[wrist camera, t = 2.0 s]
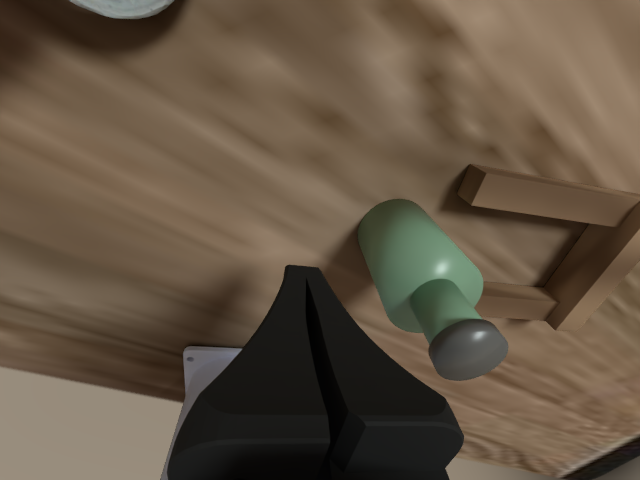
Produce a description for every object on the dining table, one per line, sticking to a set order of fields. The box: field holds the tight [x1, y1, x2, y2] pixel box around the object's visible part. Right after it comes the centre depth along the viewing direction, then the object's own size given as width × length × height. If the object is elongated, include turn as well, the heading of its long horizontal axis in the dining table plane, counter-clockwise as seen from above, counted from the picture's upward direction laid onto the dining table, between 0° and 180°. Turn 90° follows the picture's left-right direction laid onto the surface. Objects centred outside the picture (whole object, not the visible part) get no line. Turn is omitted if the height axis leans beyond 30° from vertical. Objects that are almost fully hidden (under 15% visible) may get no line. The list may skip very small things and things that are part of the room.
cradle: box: [457, 164, 640, 332], centre depth 19 cm, size 10×12×2 cm
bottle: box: [358, 199, 508, 381], centre depth 14 cm, size 4×4×9 cm
